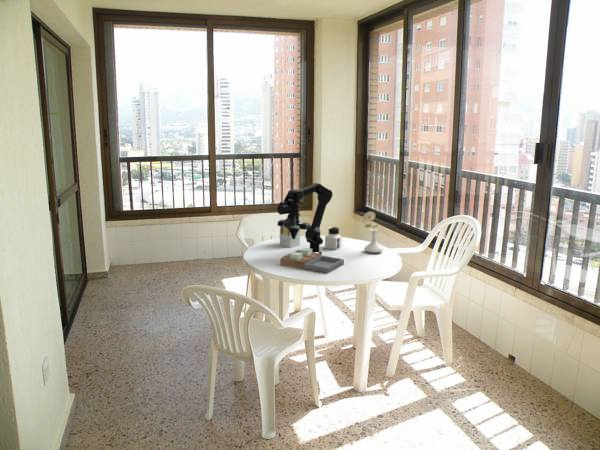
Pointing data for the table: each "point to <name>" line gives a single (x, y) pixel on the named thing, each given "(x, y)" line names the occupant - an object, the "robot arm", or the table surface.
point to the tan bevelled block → (298, 263)
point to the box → (324, 264)
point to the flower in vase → (373, 246)
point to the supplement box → (288, 237)
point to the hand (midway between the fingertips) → (293, 239)
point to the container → (333, 239)
